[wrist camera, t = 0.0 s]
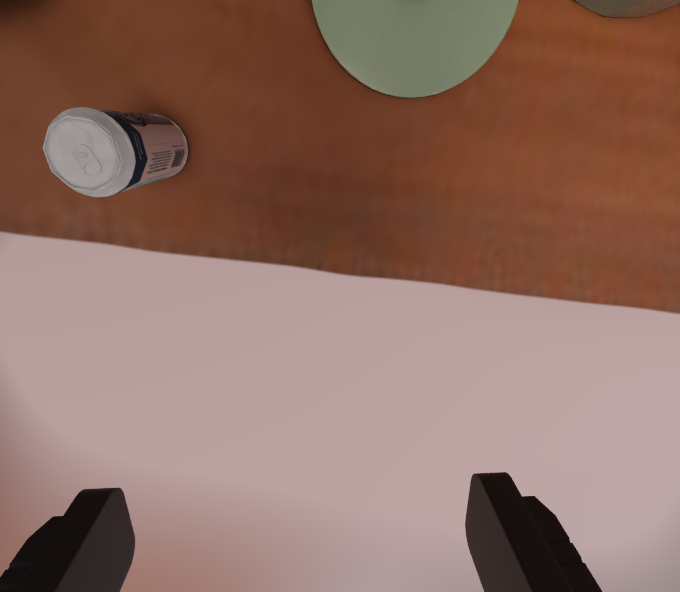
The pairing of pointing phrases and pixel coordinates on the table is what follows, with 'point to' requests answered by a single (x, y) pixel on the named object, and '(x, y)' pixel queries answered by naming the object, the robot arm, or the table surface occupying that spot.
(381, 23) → the pot lid
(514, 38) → the table surface
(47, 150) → the beer can
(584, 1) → the pot
